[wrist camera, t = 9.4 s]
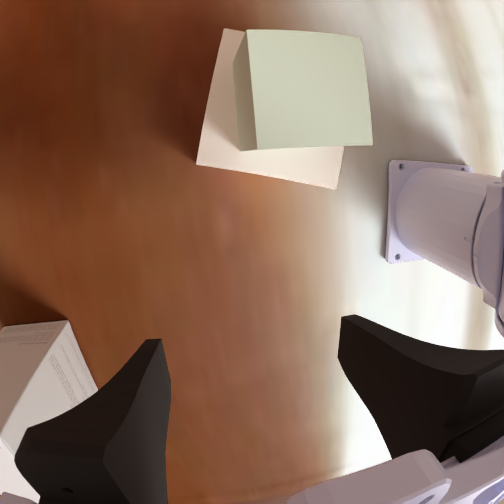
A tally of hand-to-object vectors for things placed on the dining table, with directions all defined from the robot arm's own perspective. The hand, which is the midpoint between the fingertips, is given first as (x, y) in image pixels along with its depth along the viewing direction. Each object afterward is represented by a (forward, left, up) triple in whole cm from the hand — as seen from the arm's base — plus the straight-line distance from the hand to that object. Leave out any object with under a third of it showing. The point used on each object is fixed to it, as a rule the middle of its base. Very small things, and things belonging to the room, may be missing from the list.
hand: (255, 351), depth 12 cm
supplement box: (+16, +7, -11) cm, 20 cm away
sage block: (-3, -10, -7) cm, 13 cm away
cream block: (-3, -10, -11) cm, 15 cm away
